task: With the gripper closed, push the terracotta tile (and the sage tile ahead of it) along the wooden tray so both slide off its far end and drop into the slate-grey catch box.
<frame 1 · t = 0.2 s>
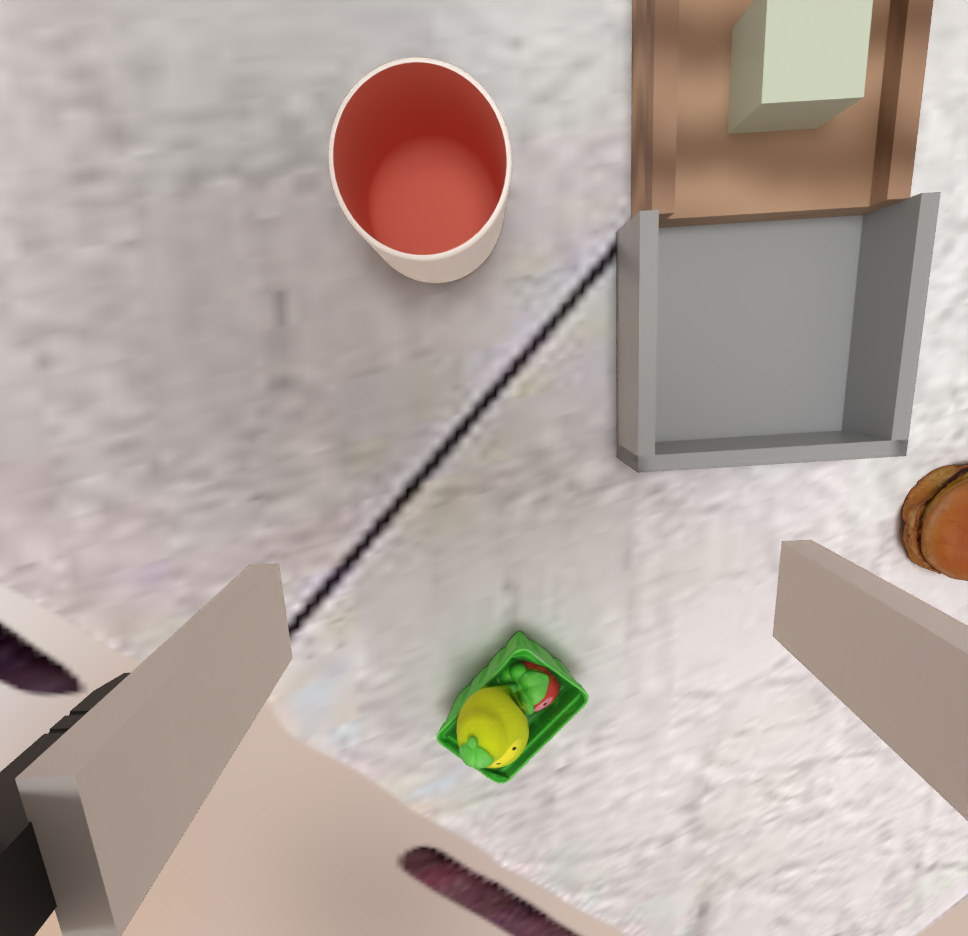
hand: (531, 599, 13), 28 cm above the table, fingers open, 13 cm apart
wooden tray: (753, 53, 34), on the table
catch box: (738, 342, 39), on the table
burger: (946, 513, 42), on the table
fruit basket: (503, 674, 45), on the table
cup: (435, 215, 37), on the table
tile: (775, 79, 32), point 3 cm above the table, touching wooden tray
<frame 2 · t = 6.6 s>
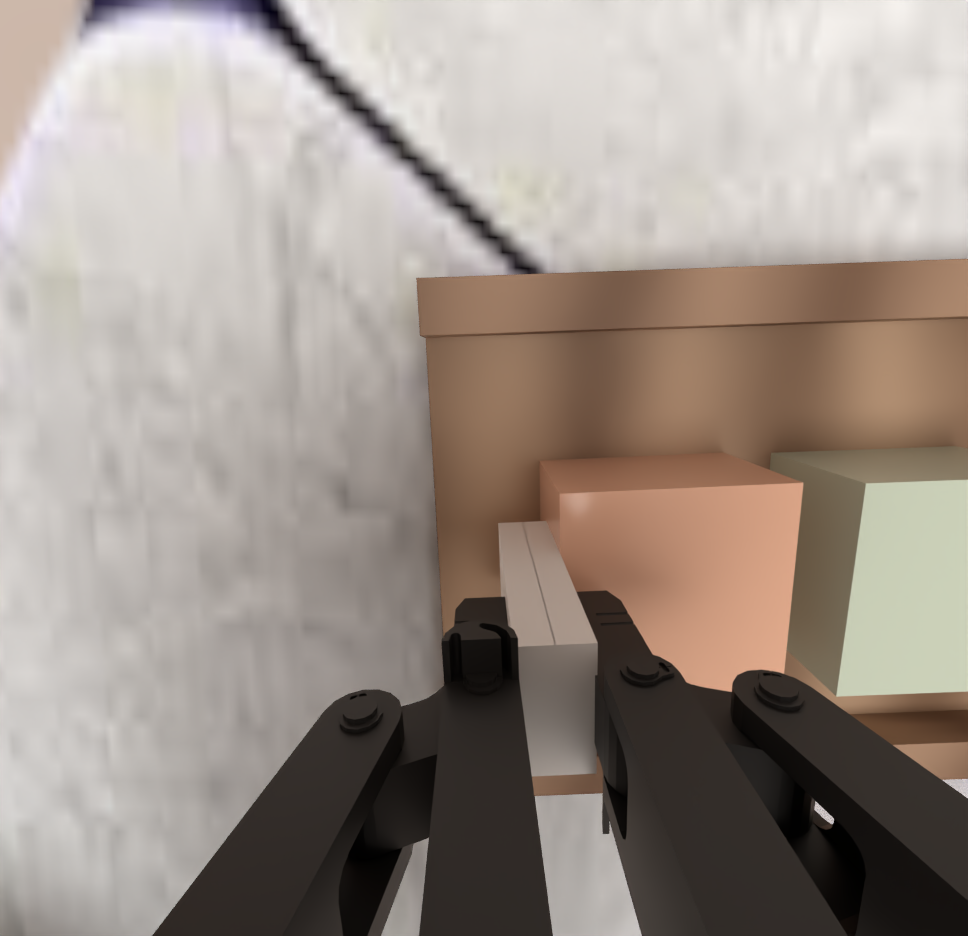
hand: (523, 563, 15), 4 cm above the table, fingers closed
wooden tray: (720, 512, 20), on the table
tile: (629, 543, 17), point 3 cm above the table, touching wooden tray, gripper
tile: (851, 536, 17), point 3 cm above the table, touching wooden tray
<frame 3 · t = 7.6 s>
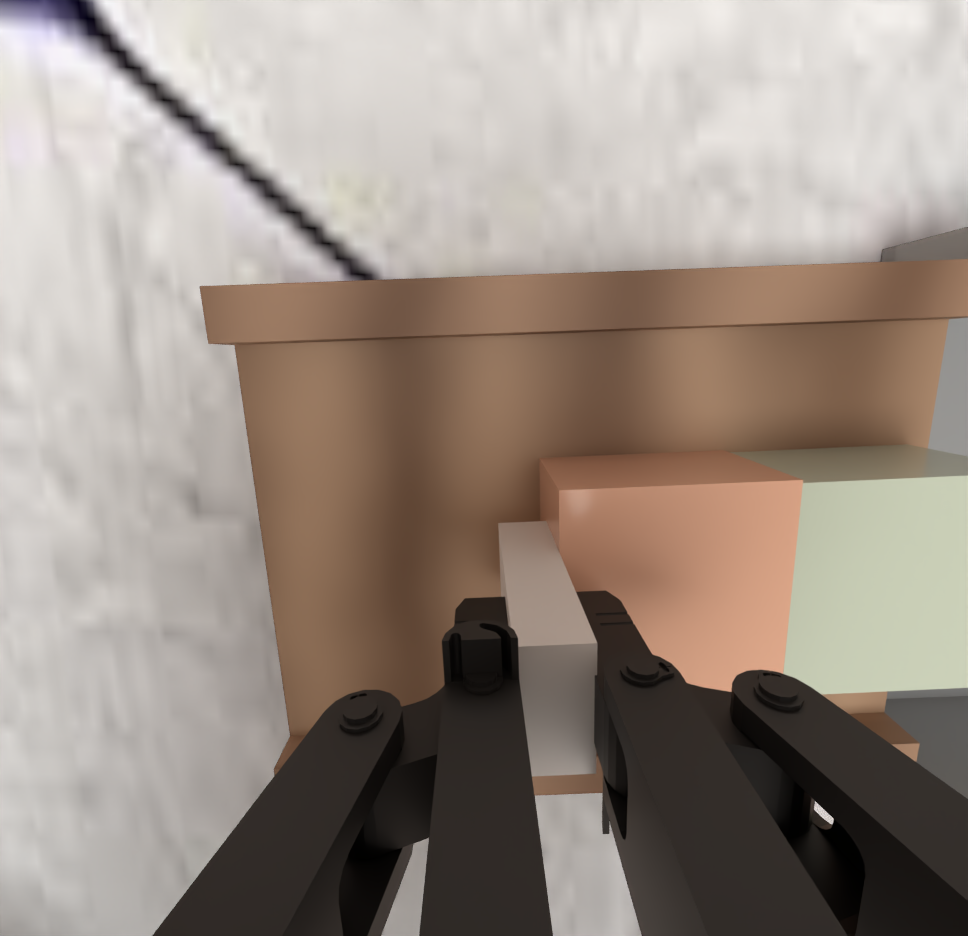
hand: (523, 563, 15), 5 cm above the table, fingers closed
wooden tray: (573, 517, 20), on the table
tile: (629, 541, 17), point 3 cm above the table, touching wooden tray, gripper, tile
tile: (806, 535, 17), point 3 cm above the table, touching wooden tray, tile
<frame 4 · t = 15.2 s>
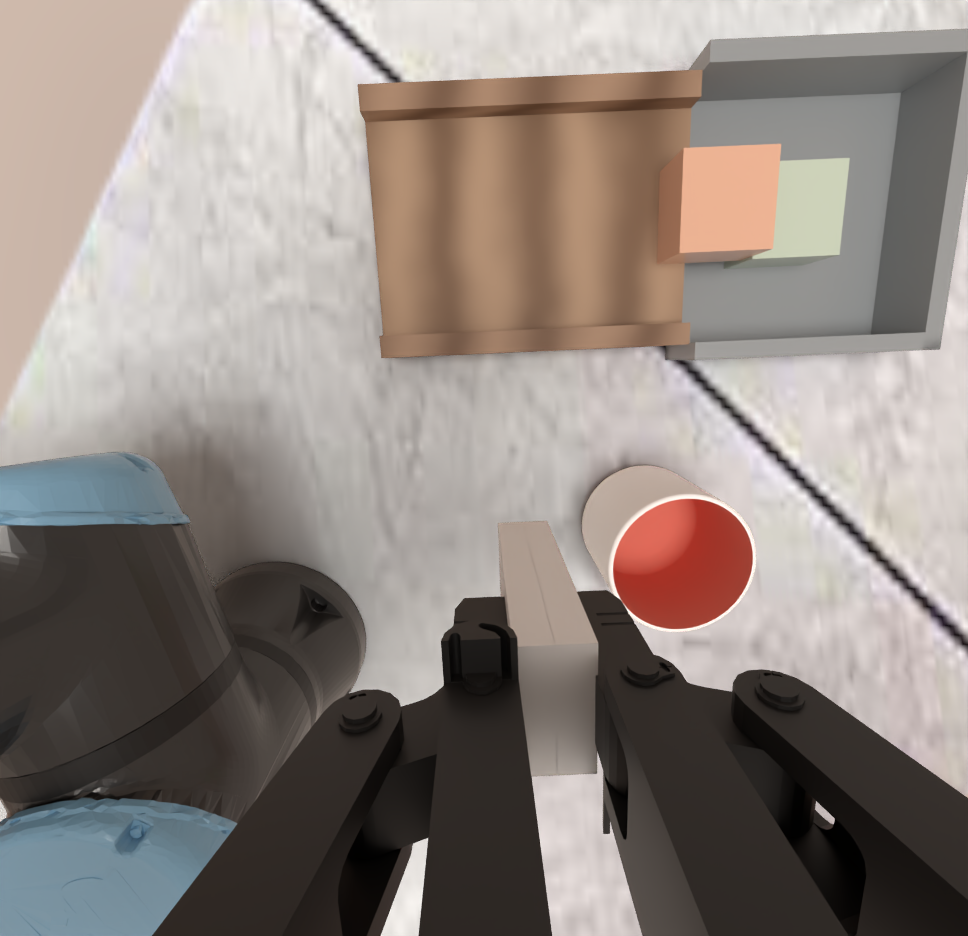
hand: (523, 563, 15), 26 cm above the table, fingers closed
wooden tray: (526, 237, 38), on the table
catch box: (782, 226, 38), on the table
cup: (635, 517, 43), on the table
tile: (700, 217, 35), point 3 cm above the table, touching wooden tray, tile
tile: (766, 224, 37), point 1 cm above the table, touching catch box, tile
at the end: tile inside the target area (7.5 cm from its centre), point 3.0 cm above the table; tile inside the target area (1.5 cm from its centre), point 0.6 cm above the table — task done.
